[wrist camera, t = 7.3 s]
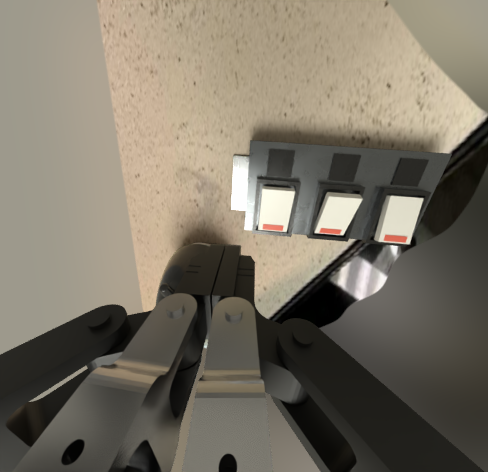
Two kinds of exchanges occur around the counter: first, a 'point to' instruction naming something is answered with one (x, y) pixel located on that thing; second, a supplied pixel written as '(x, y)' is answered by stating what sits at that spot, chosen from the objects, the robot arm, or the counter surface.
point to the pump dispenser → (178, 268)
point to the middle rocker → (337, 213)
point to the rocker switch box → (332, 183)
